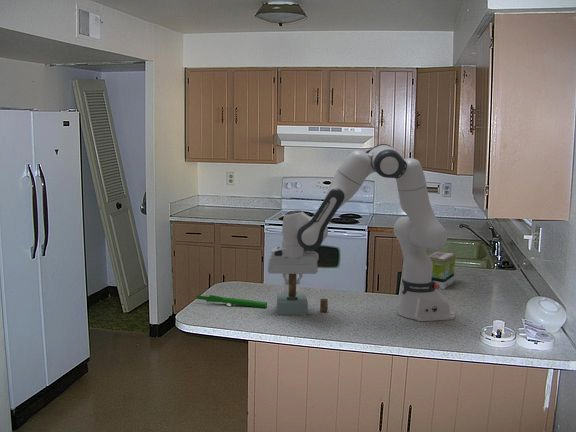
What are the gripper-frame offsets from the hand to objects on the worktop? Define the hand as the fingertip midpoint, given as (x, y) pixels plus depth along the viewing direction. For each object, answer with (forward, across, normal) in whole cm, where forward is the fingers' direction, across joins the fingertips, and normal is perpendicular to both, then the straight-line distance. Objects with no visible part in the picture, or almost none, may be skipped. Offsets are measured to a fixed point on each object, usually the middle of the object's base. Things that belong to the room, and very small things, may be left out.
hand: (292, 284), depth 246 cm
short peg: (+11, -13, +1) cm, 17 cm away
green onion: (+12, +25, -6) cm, 28 cm away
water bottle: (+11, 0, -20) cm, 23 cm away
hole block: (+11, 0, 0) cm, 11 cm away
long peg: (+5, 0, 0) cm, 5 cm away
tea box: (+11, -72, -40) cm, 83 cm away
